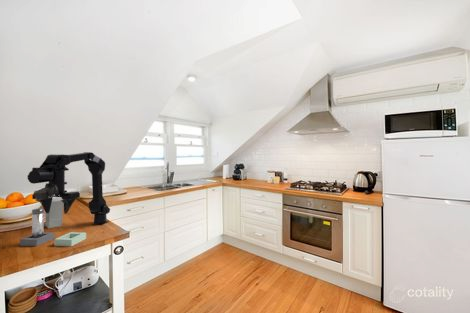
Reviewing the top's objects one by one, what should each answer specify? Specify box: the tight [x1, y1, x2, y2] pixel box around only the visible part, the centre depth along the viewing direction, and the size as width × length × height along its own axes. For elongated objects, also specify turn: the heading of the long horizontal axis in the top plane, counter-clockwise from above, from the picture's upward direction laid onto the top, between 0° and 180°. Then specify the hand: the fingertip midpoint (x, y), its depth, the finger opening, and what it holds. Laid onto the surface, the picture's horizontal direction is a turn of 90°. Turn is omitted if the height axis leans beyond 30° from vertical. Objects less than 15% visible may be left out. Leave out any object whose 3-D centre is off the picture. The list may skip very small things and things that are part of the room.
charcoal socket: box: [19, 231, 55, 247], centre depth 95 cm, size 8×8×3 cm
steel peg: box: [31, 207, 45, 238], centre depth 95 cm, size 4×4×16 cm
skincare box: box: [44, 197, 64, 230], centre depth 117 cm, size 8×7×16 cm
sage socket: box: [53, 231, 87, 247], centre depth 96 cm, size 8×8×3 cm
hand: (56, 213), depth 93 cm, fingers open, 9 cm apart
